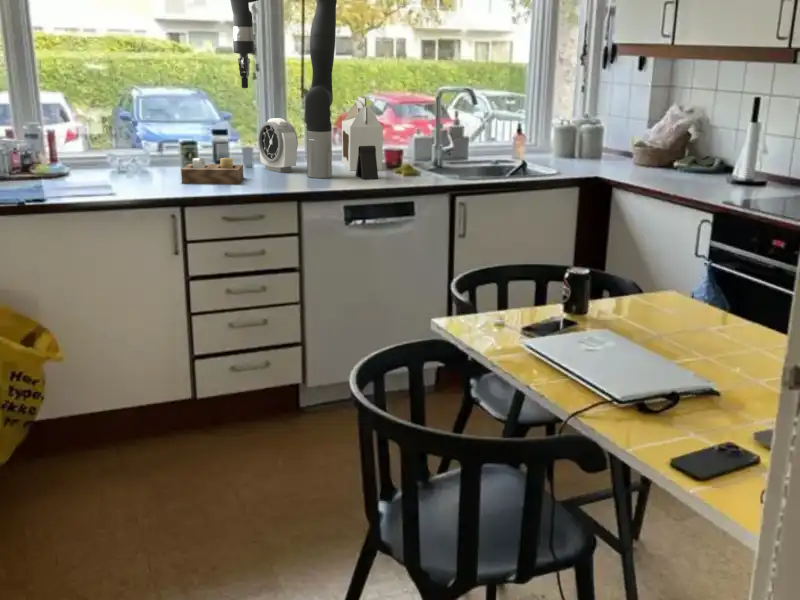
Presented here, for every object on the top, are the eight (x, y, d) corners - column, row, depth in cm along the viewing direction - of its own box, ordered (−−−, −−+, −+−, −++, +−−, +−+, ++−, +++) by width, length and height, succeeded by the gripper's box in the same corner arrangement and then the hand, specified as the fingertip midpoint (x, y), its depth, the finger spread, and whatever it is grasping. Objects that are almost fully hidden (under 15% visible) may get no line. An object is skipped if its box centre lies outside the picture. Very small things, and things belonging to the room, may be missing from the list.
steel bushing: (206, 179, 314) (205, 157, 312) (204, 181, 310) (203, 159, 307) (194, 179, 314) (193, 157, 311) (192, 181, 310) (191, 159, 307)
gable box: (341, 163, 363) (341, 95, 355) (372, 163, 366) (373, 95, 358) (349, 171, 342) (350, 99, 334) (382, 170, 345) (383, 99, 337)
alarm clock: (256, 168, 343) (255, 117, 338) (274, 166, 349) (273, 116, 343) (282, 173, 331) (281, 120, 325) (300, 172, 336) (299, 119, 330)
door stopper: (355, 176, 329) (355, 144, 326) (370, 175, 331) (370, 144, 328) (363, 179, 321) (363, 147, 318) (378, 179, 323) (378, 147, 320)
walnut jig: (243, 177, 319) (242, 156, 317) (238, 184, 306) (237, 161, 304) (189, 177, 318) (188, 155, 316) (181, 183, 305) (180, 160, 303)
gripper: (251, 40, 310) (252, 89, 315) (255, 40, 323) (257, 87, 328) (230, 39, 310) (232, 88, 315) (235, 39, 323) (237, 86, 328)
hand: (245, 88), depth 321 cm, fingers closed
